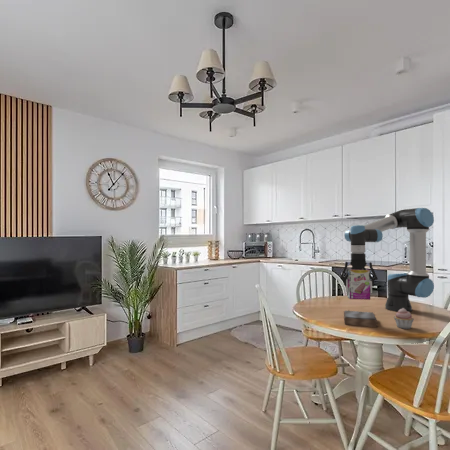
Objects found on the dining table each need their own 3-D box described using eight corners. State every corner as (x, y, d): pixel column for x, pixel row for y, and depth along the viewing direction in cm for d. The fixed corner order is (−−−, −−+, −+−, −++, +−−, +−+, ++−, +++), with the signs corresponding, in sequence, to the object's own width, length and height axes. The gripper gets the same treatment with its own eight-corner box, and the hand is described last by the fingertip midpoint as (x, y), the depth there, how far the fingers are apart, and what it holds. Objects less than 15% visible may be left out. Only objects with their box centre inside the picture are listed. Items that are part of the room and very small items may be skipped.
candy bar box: (350, 299, 171) (349, 269, 172) (347, 297, 176) (346, 268, 177) (371, 299, 170) (370, 269, 171) (367, 298, 175) (367, 268, 176)
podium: (373, 319, 177) (373, 312, 178) (377, 327, 162) (377, 319, 162) (343, 317, 183) (343, 310, 183) (344, 324, 168) (344, 316, 168)
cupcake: (416, 327, 162) (416, 307, 162) (411, 331, 155) (410, 311, 156) (397, 323, 168) (396, 305, 169) (391, 327, 162) (390, 308, 162)
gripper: (335, 252, 174) (336, 291, 174) (382, 253, 166) (383, 294, 166) (335, 252, 181) (336, 289, 181) (380, 252, 174) (381, 292, 173)
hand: (358, 291), depth 173 cm, fingers closed on candy bar box, 12 cm apart
